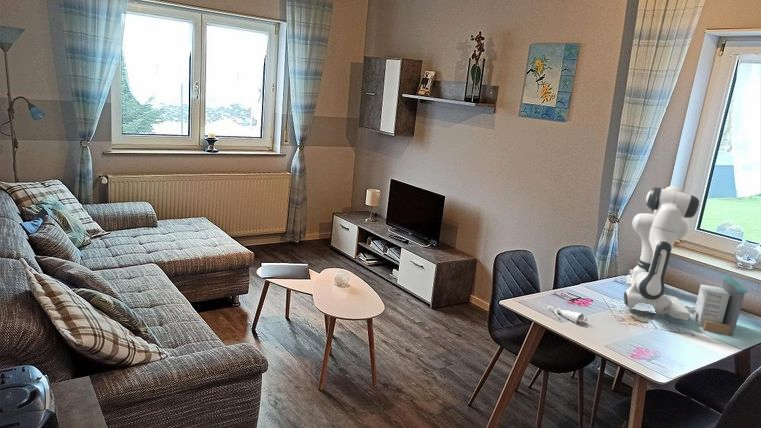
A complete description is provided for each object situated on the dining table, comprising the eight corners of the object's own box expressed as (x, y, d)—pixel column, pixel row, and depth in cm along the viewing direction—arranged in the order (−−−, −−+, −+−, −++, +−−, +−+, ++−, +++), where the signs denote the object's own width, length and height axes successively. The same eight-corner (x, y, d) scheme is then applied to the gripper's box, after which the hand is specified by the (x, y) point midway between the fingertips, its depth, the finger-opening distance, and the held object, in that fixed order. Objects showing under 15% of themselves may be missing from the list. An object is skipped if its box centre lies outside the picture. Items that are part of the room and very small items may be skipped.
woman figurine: (579, 318, 222) (541, 305, 235) (578, 328, 223) (540, 315, 236) (593, 312, 230) (555, 300, 243) (592, 322, 231) (554, 309, 244)
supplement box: (721, 330, 237) (730, 294, 233) (698, 326, 239) (707, 290, 235) (713, 321, 246) (722, 287, 242) (691, 317, 248) (700, 283, 244)
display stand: (691, 314, 252) (702, 271, 247) (719, 319, 250) (730, 276, 245) (704, 330, 234) (716, 285, 229) (734, 336, 232) (747, 290, 227)
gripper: (669, 306, 235) (703, 313, 232) (657, 291, 254) (689, 296, 252) (666, 320, 237) (700, 326, 234) (654, 303, 256) (686, 309, 253)
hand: (694, 310), depth 243 cm, fingers closed
